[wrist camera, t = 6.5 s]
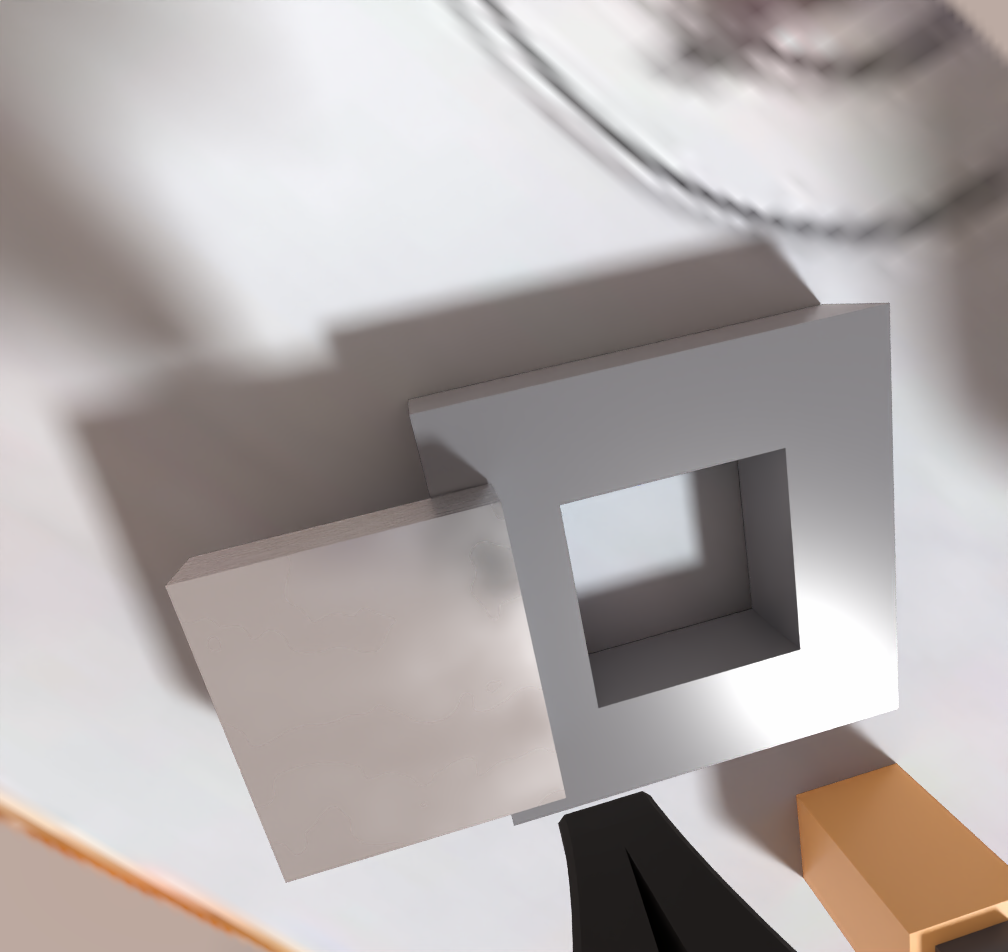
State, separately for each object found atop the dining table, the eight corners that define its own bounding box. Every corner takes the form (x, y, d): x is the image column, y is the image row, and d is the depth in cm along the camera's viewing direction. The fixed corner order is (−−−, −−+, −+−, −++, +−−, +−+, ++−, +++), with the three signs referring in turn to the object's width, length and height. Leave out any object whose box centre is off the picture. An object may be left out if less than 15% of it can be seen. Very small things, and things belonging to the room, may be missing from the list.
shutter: (491, 482, 14) (500, 501, 13) (551, 756, 17) (566, 797, 15) (189, 557, 14) (164, 586, 12) (296, 832, 16) (285, 882, 15)
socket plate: (822, 304, 17) (889, 302, 15) (841, 663, 21) (898, 708, 18) (408, 399, 16) (409, 414, 14) (500, 763, 20) (514, 825, 17)
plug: (895, 762, 22) (1064, 916, 17) (897, 845, 24) (1056, 1016, 18) (795, 794, 22) (932, 963, 16) (802, 877, 23) (933, 1061, 18)
